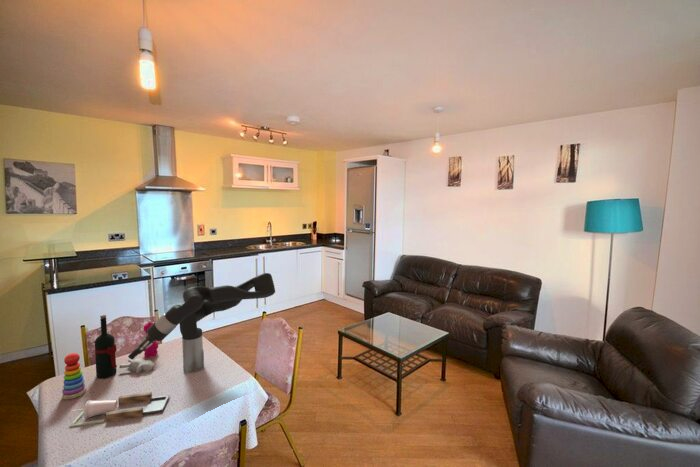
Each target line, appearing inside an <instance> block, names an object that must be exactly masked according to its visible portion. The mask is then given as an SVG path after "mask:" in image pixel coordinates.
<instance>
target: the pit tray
mask: <svg viewBox="0 0 700 467" xmlns="http://www.w3.org/2000/svg"><path fill="white" fill-rule="evenodd" d="M169 400H170V394H169V395H168V394H167V395H161V396H152V397H151V401H148V404H147V406H146V407H145V409H144V410H143V416H147V415H153V414H154V415H155V414H161V413H163V412H164V410H165V407H166V406H167V404H168V401H169Z"/></svg>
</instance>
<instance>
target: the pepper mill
mask: <svg viewBox="0 0 700 467" xmlns="http://www.w3.org/2000/svg"><path fill="white" fill-rule="evenodd" d="M154 323H155V322H152V320H151V319H149V320H148V321H147V323H145V324H144V325H143V331H144V336H145V337H146V336H147V335H148V333H147V330H148V328H149V327H150V326H151V325H153V324H154ZM158 349H159V343H158V341H156V340H155V341H154V343H153V344H152V345H151V346H149V347H148V348H147V349H146V350H144V351H143V352H144V354H143V355H144V358H153V357H155V356H157V355H158V353H159V352H158Z"/></svg>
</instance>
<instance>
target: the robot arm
mask: <svg viewBox="0 0 700 467" xmlns="http://www.w3.org/2000/svg"><path fill="white" fill-rule="evenodd" d="M253 288H254V291H251V289H253ZM274 294H276V288H275V284H274V280H273V276H272V274H271V273H269V272H266V273H265V272H264V273H260V274H258V275H256V276H254V277H251V278H249V279H248V280H247V281H245V282H243V283H240V284H238V285H236V286H234V285H219V286H212V287H208V286H192V287H191V286H190V287H188V288H186V290H184V291H183V293H182V299H183V301H184V303H183V304H175V305H173V306H172V307H170V309H168V311H166V312H165V313H164V314H163V315H161V316H160V317H159V318H158V319H157V320H156V321H154V322H153V323H154V324H153V325H151V326H150V327H149V328H148V330H147V333H148V335H147V336H146V335H145V336H144V338H143V339H142V340H141V341H140V342H139V343H138V345H137V346H136V347H135V348H134V350H133V351H132V352H131V353H130V354H129V355H128V359H133V360H135V358H136V357H138V355H141V354H142V353H143V352H144V350H146V349H147V348H148V347H149V346H151V345H152V344H153V343H154V341H155V340H156V341H157V342H162V341H163V340H164V339H165V338H166V337H168V336H169V335H170V334H171V333H172V332H173V331H174V330H175V329H176V328H177V326H178V325H179V333H180V334H181V336H182V337H181V339H182V340H181V341H182V363H183V365H182V366H183V367H182V369H183V370H182V371H183V372H184V373H187V374H188V373H189V374H192V373H196V372H199V371H201V370H203V369H205V356H204V355H205V354H204V349H203V348H204V347H203V346H204V345H203V344H204V343H203V341H204V340H203V329H202V328H200V327H198V324H197V323H198V322H200V321H201V320H203V319H204V318H206V317H207V316H209V315H211V314H214V313H218V312H223V311H226V310H230V309H232V308H235V307H237V306H238V305H239V304H240V303H241V302H242V301H243V300H255V299H265V298H269V297H271V296H273V295H274Z"/></svg>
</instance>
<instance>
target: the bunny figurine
mask: <svg viewBox="0 0 700 467" xmlns="http://www.w3.org/2000/svg"><path fill="white" fill-rule="evenodd" d="M127 361H128V363H121V364H119V367H118V368H119V369H124V368H126V369H127V368H128V369H129V371H130V372H132V373H133V372H134V373H136V374H138V373H141V372H143V373H147V372H150V371H152V369H154V368H156V364H155V363H154V362H153V361H152V359H146V360H145V359H144V358H141V357H138V358H136V359H135V358H134V359H130V358H128V360H127Z"/></svg>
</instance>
